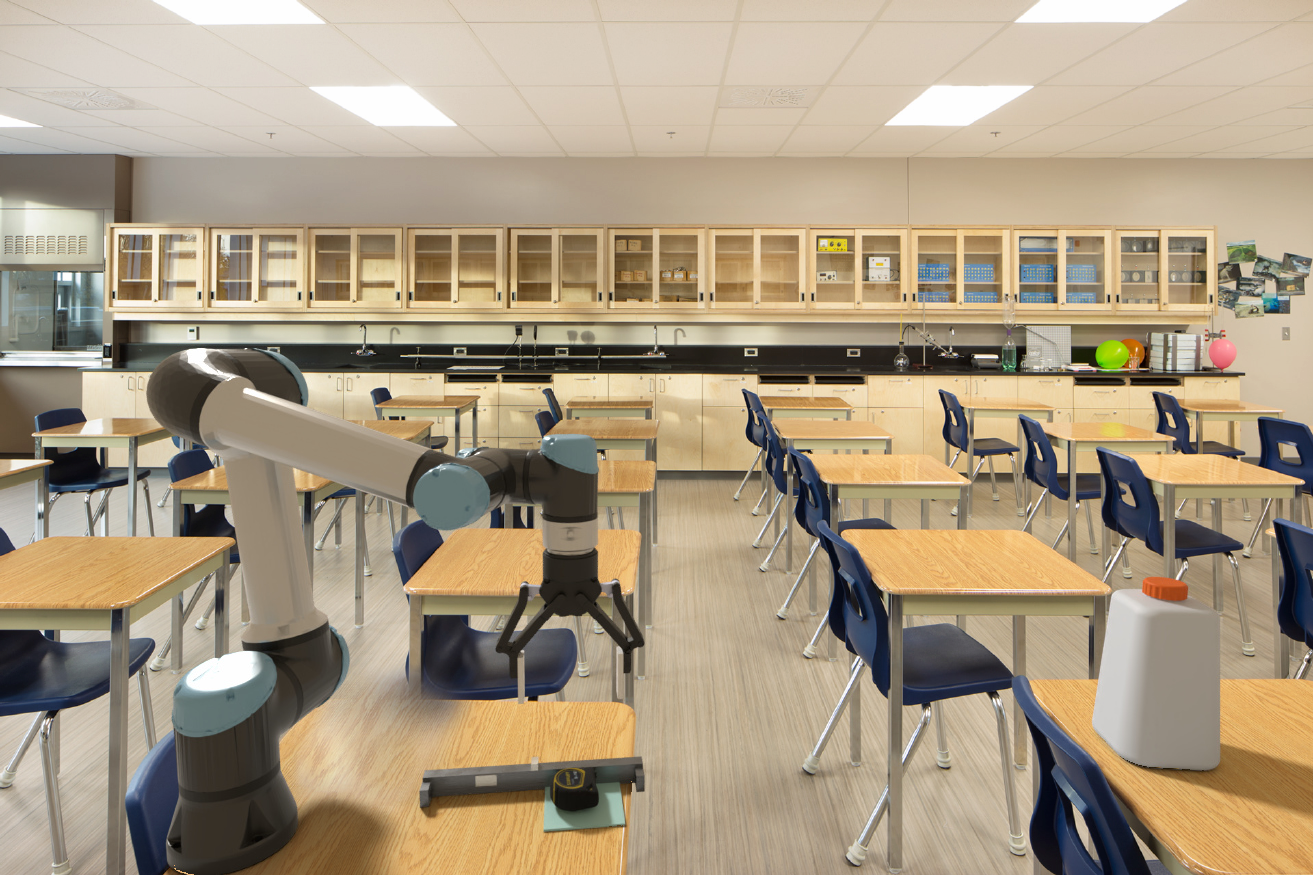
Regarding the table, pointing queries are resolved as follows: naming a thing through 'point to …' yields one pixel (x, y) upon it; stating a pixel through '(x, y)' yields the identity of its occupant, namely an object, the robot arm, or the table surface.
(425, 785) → the rail
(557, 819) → the pad
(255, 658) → the robot arm
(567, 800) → the tape measure
